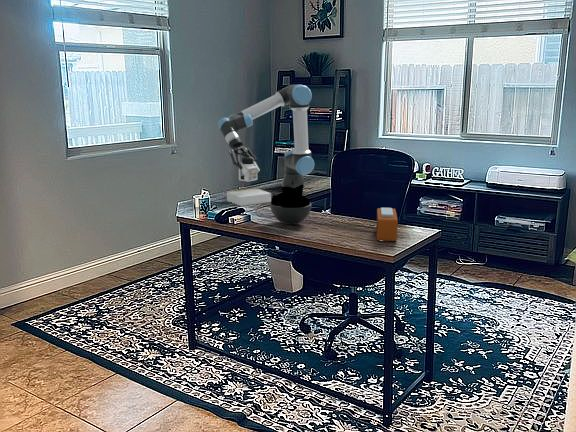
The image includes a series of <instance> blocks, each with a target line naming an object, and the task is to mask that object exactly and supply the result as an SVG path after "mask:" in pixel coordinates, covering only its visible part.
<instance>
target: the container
mask: <svg viewBox="0 0 576 432" xmlns="http://www.w3.org/2000/svg"><path fill="white" fill-rule="evenodd" d="M241 161H242V162H241V163H242V164H243V166H244V168H245V169H246V171H247V173H246V174H245V175H244V174H243V173H242V171H241V170H240V169H239V168H238V181H242V182H248V183H249V182H253V181H257V180H258V173H257V166H253V165H254V158H252V157H245V156H243V157H242V159H241Z"/></svg>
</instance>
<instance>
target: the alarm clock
mask: <svg viewBox="0 0 576 432" xmlns="http://www.w3.org/2000/svg"><path fill="white" fill-rule="evenodd" d="M398 220H399V219H398V215H397V211H396V208H392V207H380V208H379V207H378V208H377V209H376V227H375V228H376V240H383V241H382V242H384V241H396V242H397V240H398V227H399V226H398V225H399V221H398Z"/></svg>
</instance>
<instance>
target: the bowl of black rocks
mask: <svg viewBox="0 0 576 432" xmlns="http://www.w3.org/2000/svg"><path fill="white" fill-rule="evenodd" d="M281 191H282V192H279V193H278V194H273V196H271V202H269V203H270V204H269V205H270V210H271V213H272V214H273V216H274V217H275V218H276V220H278V221H279V222H281V223H283V224H286V225H297V224H299V223H301V222H303V221H304V220H305V219H306V218H307V217H308V216H309V214H310V213H311V209H312V206H313V205H312V202H311V201H310V199H309V198H308V197H306V195H303V192H304V187H303V184H302V185H300V186H298V187H295V188H292V187H287V186H286V187H282V188H281Z"/></svg>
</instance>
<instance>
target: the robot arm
mask: <svg viewBox="0 0 576 432" xmlns="http://www.w3.org/2000/svg"><path fill="white" fill-rule="evenodd" d="M312 96H313V94H312V91H311V89H310V88H309V87H308V86H307V85H303V84H289V85H288V86H286V87H284V88H282V89H280V90H278V91H276V92H275V94H273V95H272V96H270V97H268V98H265V99H263V100H261V101H260V102H257V103H256V104H253V105H252V106H249V107H247V108H245V109H243V110H240V111H239V112H236V113H232V114H231V115H229V116H228V117H222V118H221V119H219V121H218V122H217V126H218V128H219V131H220V132H221V134H222V136H223V137H224V140H225V141H226V142H227V144H228V146H229V148H230V149H229V150H228V154H229V156H230V157H231V161H232V164H233V165H234V166H236V167H238V170H239V169H240V170H241V171H242V173H243V174H244V175H245V174H246V173H247V171H246V169H245V168H244V166H243V164H242V162H241V159H240V158H241V156H243V157H252V158H254V165H253V166H257V174H258V173H259V172H260V170H261V169H260V168H259V165H258V163H257V161H258V158H257V156H256V155H255V154H254V153H253V152H252V150H251V148H250V147H249V146H247V147H245V146H244V144H243V141H242V140H241V138H240V136H239V135H238V133H237V132H239V131H241V130H242V131H243V130H245V129H247V128H250V127H252V126H253V125H254V123H253V122H254V121H253V120H255V119H257V118H259V117H261V116H263V115H265V114H267V113H269V112H271V111H273V110H276V109H277V108H279V107H285V106H287V105H289V108H290V110H292V119H293V121H292V122H293V140H294V150H291V151H285V153H284V175H283V178H282V182H281V187H282V188H283V187H286V186H287V187H292V188H295V187H298V186H300V185H302V184H303V188H305V187H306V182H305V179H304V176H303V175H308V174H310V173H312V172H313V170H314V168H315V161H314V159H313V157H312V151H311V150H310V149H309V129H308V109H309V108H310V102H311V101H312Z"/></svg>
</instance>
